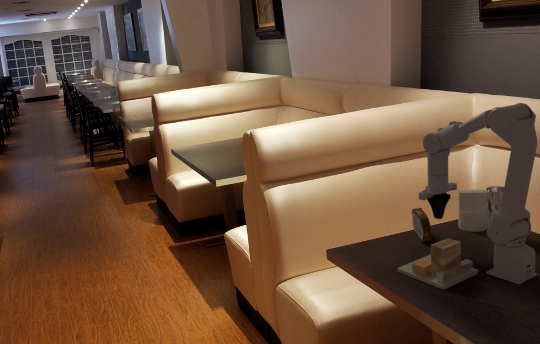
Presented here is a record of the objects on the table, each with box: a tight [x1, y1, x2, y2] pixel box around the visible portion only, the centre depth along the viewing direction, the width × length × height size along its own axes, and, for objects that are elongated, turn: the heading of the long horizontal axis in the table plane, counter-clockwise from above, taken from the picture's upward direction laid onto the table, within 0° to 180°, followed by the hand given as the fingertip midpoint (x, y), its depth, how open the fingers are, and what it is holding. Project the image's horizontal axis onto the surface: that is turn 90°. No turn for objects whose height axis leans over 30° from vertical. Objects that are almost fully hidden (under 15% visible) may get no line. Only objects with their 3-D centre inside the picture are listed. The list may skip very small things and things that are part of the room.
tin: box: [411, 207, 432, 243], centre depth 174 cm, size 15×3×8 cm, turn 179°
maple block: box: [430, 237, 462, 275], centre depth 145 cm, size 4×7×8 cm, turn 125°
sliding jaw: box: [412, 256, 431, 276], centre depth 149 cm, size 4×12×2 cm, turn 125°
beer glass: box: [485, 185, 505, 239], centre depth 169 cm, size 7×7×15 cm
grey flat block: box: [396, 253, 479, 291], centre depth 148 cm, size 16×14×4 cm
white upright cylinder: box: [457, 189, 488, 233], centre depth 178 cm, size 9×9×12 cm
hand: (438, 218), depth 162 cm, fingers closed
